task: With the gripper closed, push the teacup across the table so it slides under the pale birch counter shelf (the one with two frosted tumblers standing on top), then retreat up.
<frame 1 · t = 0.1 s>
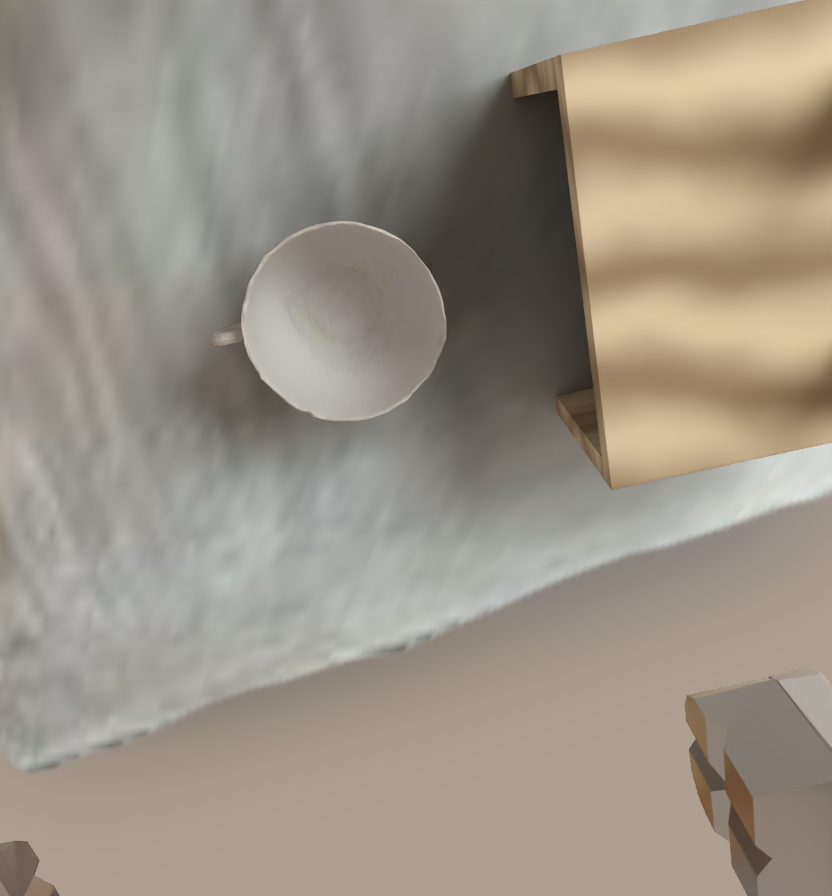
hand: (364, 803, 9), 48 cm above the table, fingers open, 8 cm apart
teacup: (328, 302, 55), on the table
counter: (675, 227, 55), on the table
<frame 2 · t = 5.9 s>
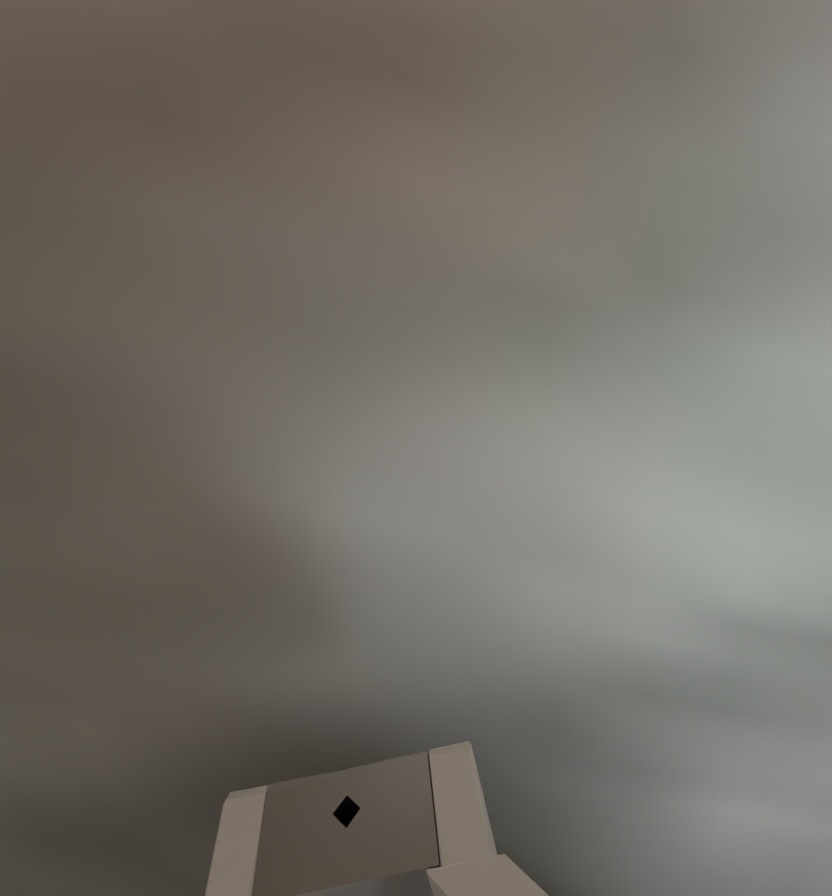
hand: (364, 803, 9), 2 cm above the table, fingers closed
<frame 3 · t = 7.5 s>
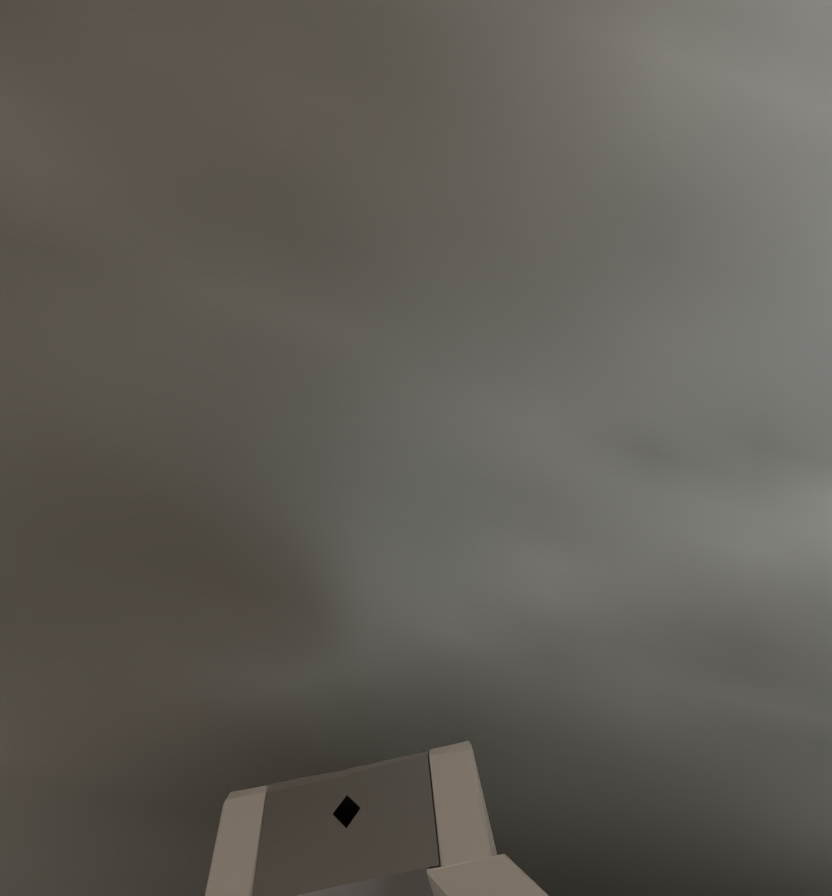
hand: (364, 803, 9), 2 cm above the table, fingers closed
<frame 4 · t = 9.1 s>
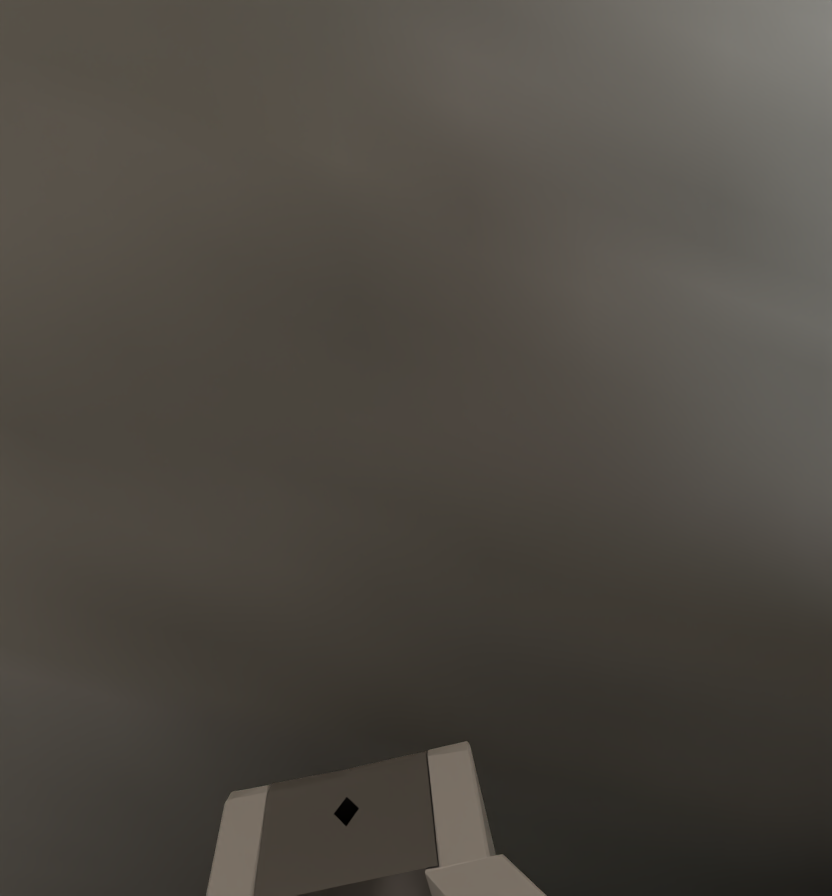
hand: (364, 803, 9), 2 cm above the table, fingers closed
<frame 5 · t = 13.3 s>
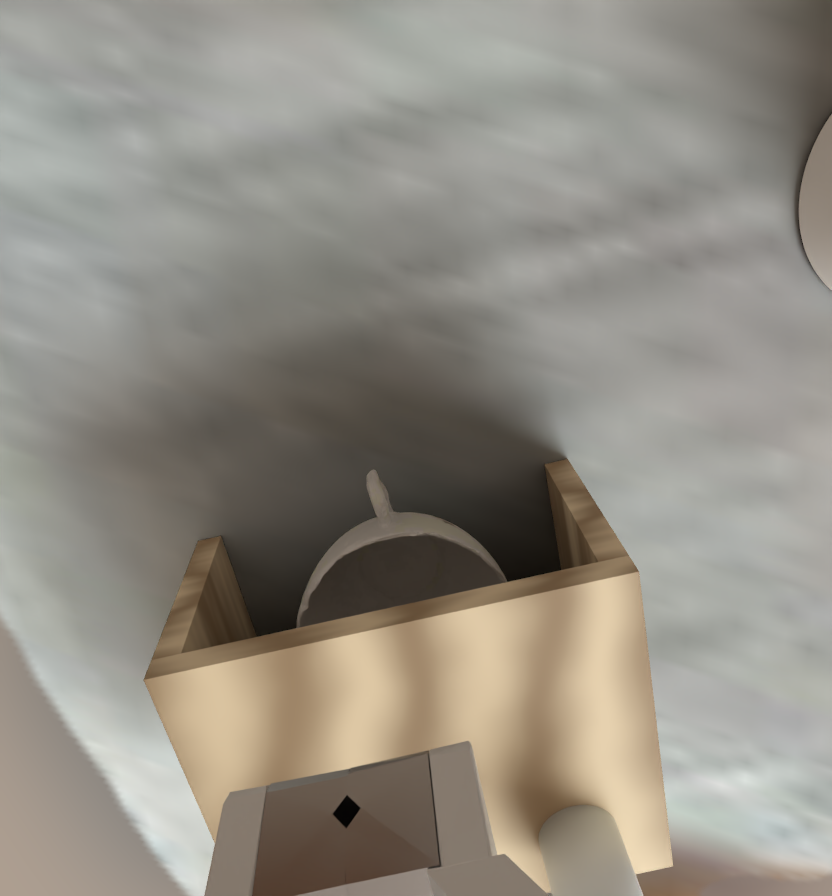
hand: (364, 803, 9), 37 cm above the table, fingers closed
teacup: (397, 543, 51), on the table
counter: (414, 628, 53), on the table
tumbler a: (577, 834, 43), point 13 cm above the table, touching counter
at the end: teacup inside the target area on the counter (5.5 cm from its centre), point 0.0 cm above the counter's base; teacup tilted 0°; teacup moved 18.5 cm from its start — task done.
